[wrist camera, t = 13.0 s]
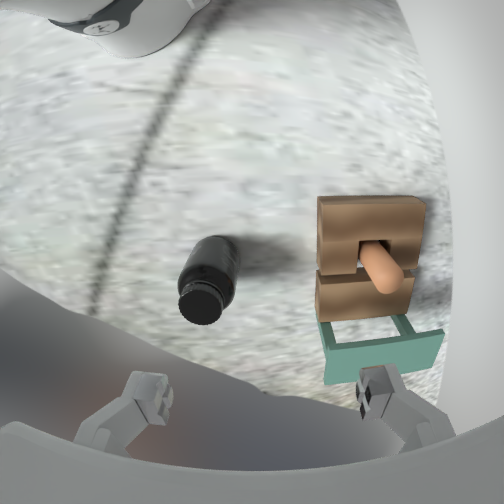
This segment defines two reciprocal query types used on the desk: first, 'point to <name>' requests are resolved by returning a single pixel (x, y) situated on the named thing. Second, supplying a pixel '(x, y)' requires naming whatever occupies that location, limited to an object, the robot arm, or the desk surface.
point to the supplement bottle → (208, 280)
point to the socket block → (346, 253)
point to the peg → (380, 266)
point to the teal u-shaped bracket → (379, 351)
